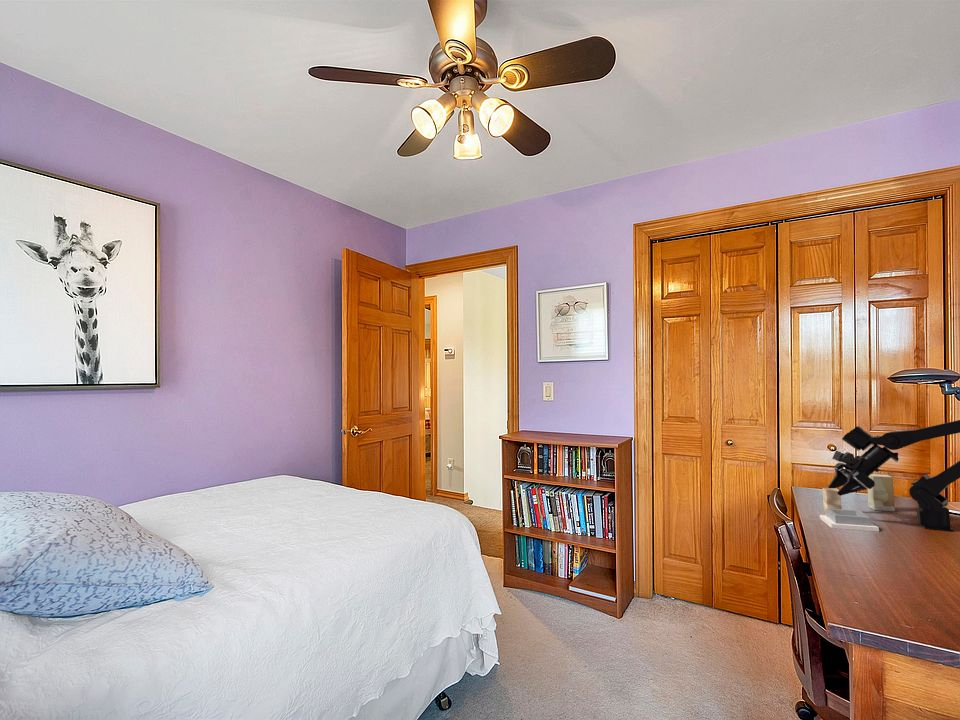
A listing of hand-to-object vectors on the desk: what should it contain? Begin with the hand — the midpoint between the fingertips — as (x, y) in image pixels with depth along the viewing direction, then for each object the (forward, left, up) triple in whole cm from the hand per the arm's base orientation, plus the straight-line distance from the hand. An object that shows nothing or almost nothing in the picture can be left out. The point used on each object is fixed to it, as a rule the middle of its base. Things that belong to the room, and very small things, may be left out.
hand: (833, 491), depth 159 cm
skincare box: (-16, -16, -8) cm, 24 cm away
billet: (+1, 0, -8) cm, 8 cm away
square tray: (-1, +11, -8) cm, 14 cm away
